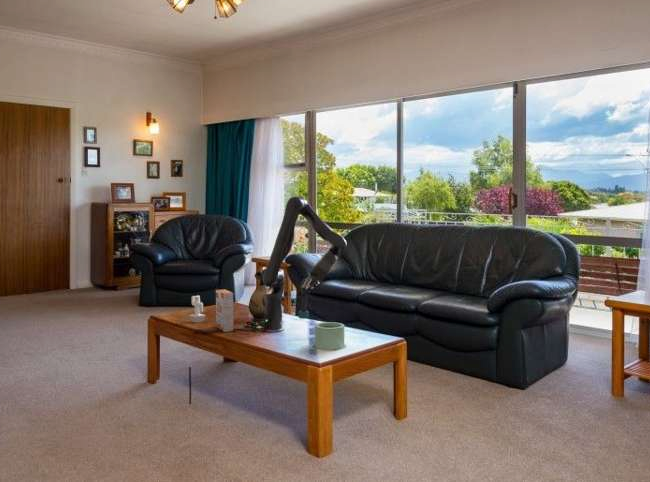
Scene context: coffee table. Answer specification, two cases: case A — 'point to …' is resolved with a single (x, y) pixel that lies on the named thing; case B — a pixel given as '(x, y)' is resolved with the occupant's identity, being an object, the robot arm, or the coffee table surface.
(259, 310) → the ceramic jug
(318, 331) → the jar
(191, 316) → the figurine
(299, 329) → the coffee table surface
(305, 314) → the brush
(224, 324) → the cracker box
